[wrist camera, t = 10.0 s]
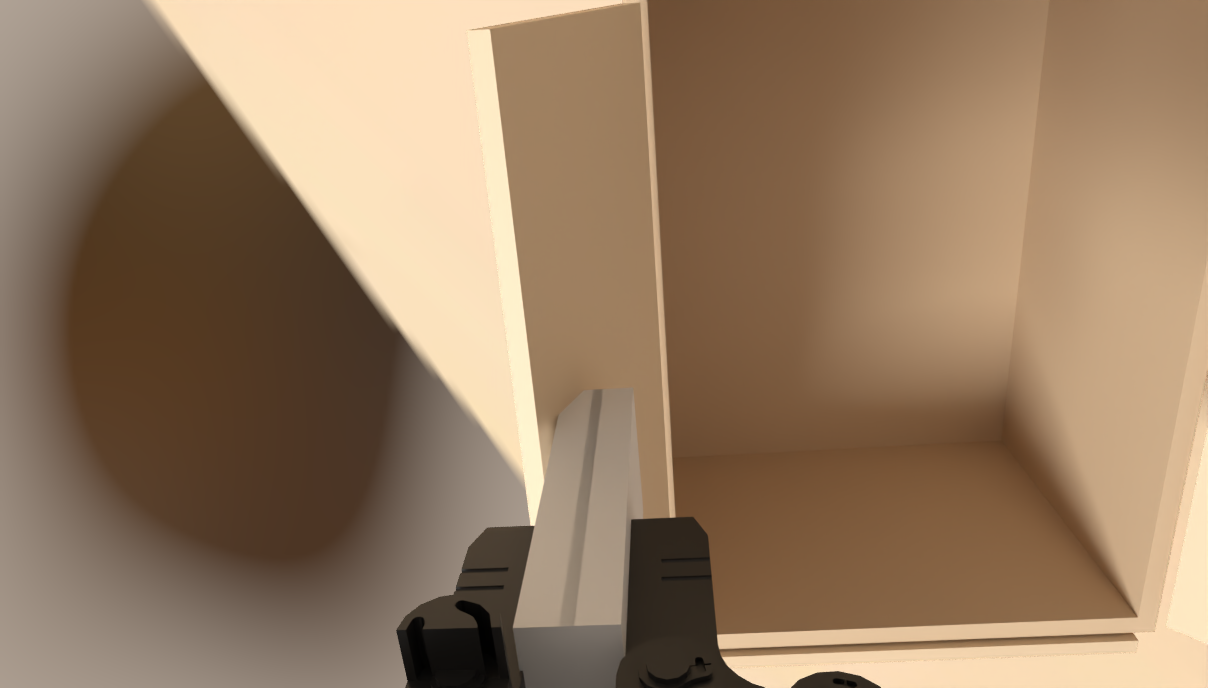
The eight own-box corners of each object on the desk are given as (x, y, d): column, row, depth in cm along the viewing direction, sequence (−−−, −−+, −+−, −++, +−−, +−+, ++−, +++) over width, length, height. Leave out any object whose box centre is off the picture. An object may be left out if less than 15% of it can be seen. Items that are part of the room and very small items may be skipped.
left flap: (640, 1, 17) (621, 3, 17) (489, 29, 13) (465, 30, 13) (677, 646, 23) (663, 642, 24) (584, 817, 19) (567, 811, 19)
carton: (619, -60, 27) (612, -71, 17) (1069, -98, 26) (1317, -133, 17) (653, 475, 34) (661, 670, 25) (1007, 456, 33) (1155, 651, 24)
